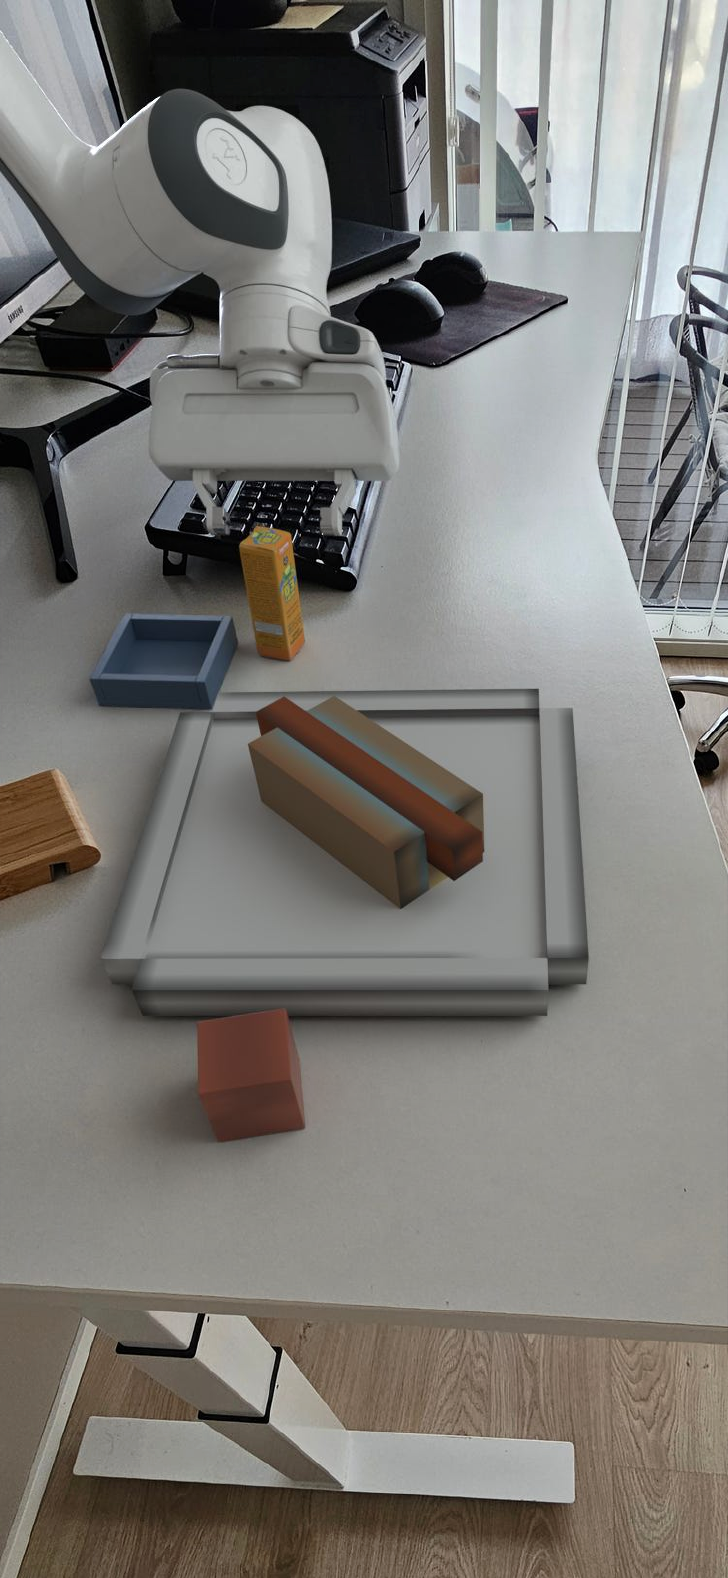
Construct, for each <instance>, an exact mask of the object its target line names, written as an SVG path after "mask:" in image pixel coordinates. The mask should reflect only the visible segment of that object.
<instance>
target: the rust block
mask: <svg viewBox="0 0 728 1578" xmlns="http://www.w3.org/2000/svg"><path fill="white" fill-rule="evenodd" d="M196 1027H197V1028H196V1029H197V1030H196V1031H197V1034H196V1036H197V1038H196V1039H197V1040H196V1041H197V1095H198V1098H199V1099H200V1102H201V1105H202V1107H203V1109H204V1112H205V1114H206V1117H207V1118H208V1121H209V1124H210V1126H211V1128H212V1130H213V1133H214V1135H215V1137H216V1140H217V1142H218V1143H222V1142H230V1141H236V1140H241V1139H248V1138H254V1137H260V1136H266V1135H271V1134H279V1133H286V1132H290V1131H297V1130H303V1129H306V1118H305V1117H306V1116H305V1107H304V1106H305V1105H304V1096H303V1094H304V1093H303V1083H302V1082H303V1081H302V1072H301V1070H302V1069H301V1060H300V1056H299V1052H298V1049H297V1048H298V1047H297V1045H296V1040H295V1037H294V1034H293V1030H292V1026H291V1023H290V1019H289V1016H288V1015H287V1011H286V1009H278V1010H272V1011H265V1012H258V1013H252V1014H245V1015H238V1016H224V1017H220V1018H213V1019H206V1020H200V1021H197V1023H196Z"/></svg>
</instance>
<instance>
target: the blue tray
mask: <svg viewBox="0 0 728 1578" xmlns="http://www.w3.org/2000/svg"><path fill="white" fill-rule="evenodd" d="M236 630H237V629H236V627H235V622H234V617H233V616H231V615H198V614H197V615H196V614H193V615H192V614H157V613H156V614H154V613H153V614H150V613H123V615H122V617H121V619H120V621H119V622H118V624H117V626H116V628H115V630H114V632H113V634H112V636H111V638H110V640H109V641H108V643H107V645H106V647H105V649H104V650H103V652H102V654H101V655H100V657H99V660H98V662H97V664H96V666H95V667H94V669H93V671H92V673H91V675H90V677H89V680H88V681H89V682H90V684H91V688H92V691H93V694H94V696H95V699H96V702H97V704H98V706H99V707H126V708H127V707H129V708H160V709H162V708H164V709H168V708H169V709H194V710H195V709H197V710H213V708H214V704H215V701H216V697H217V694H218V692H220V690H221V687H222V685H223V682H224V680H225V678H226V675H227V673H228V670H229V668H230V665H231V663H232V661H233V657H234V655H235V652H236V650H237V648H238V646H239V639H238V635H237V631H236Z"/></svg>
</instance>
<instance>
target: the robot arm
mask: <svg viewBox="0 0 728 1578" xmlns="http://www.w3.org/2000/svg"><path fill="white" fill-rule="evenodd" d="M0 173H1V174H2V176H3V177H4V179H5V180H6V181H7V183H8V184H9V185H10V187H12V188H13V190H14V191H15V193H16V194H17V196H18V197H19V198H20V199H21V201H22V203H23V204H24V205H25V206H26V208H27V209H28V211H29V213H30V214H31V215H32V217H33V218H34V220H35V222H36V223H37V225H38V226H39V228H40V230H41V231H42V234H43V235H44V237H45V239H46V240H47V242H48V244H49V246H50V248H51V249H52V251H53V253H54V255H55V256H56V258H57V259H58V261H59V263H60V264H61V266H62V267H63V269H64V270H65V272H66V273H67V275H68V276H69V278H70V279H71V280H72V281H73V283H74V284H75V285H76V286H77V287H78V289H80V290H81V291H82V292H83V293H84V294H85V295H86V296H88V297H89V298H90V299H91V300H93V301H94V302H95V303H97V304H98V305H100V306H102V307H103V308H105V309H107V310H110V311H111V312H114V313H116V314H120V315H125V316H140V315H143V314H144V315H145V314H147V313H148V312H151V311H152V310H153V309H155V308H156V307H157V306H158V305H159V304H160V303H162V302H163V301H164V300H165V299H166V298H167V297H169V296H170V295H171V294H172V293H174V291H176V290H177V289H178V287H180V286H182V285H183V284H184V283H187V282H188V281H190V280H191V279H193V278H195V277H197V276H198V275H200V274H202V273H203V275H206V276H207V277H209V278H210V279H213V280H214V281H215V282H216V284H217V285H218V287H219V293H220V294H219V353H205V354H195V355H183V354H171V355H168V356H166V359H165V360H164V361H161V362H159V363H158V364H157V365H156V366H155V367H154V368H153V369H152V370H151V372H150V375H149V399H150V403H151V413H150V419H149V431H148V455H149V458H150V460H151V462H152V463H153V465H154V466H155V467H156V469H157V470H159V472H160V473H161V474H162V475H163V476H164V477H166V478H167V479H168V480H169V481H172V482H173V481H174V482H179V481H180V482H186V481H187V482H192V486H193V488H194V489H195V490H194V491H196V493H197V495H198V497H199V499H200V501H201V502H202V504H203V507H204V508H205V512H206V515H205V516H206V517H205V518H206V519H205V520H206V522H205V523H206V525H205V526H206V530H207V532H208V533H209V534H210V535H211V536H230V535H231V528H230V524H231V513H229V512H228V511H227V509H226V508H225V507H224V506H217V504H216V503H215V501H214V499H213V496H212V495H211V494H217V493H218V482H334V485H335V487H336V489H337V490H338V491H337V493H336V495H335V496H334V498H333V500H332V502H331V504H330V506H327V507H326V506H324V507H323V506H322V507H320V508H319V509H320V513H319V516H320V518H321V520H320V522H319V527H320V532H321V534H322V535H323V536H325V537H327V536H328V537H329V536H330V537H341V536H342V535H343V516H344V515H345V513H346V512H347V510H348V508H349V507H350V505H351V503H352V501H353V500H354V498H355V496H356V495H357V482H388V481H391V480H392V479H393V478H394V477H395V475H396V474H397V472H399V471H398V470H399V469H400V443H399V442H400V441H399V430H398V424H397V423H398V422H397V418H396V412H395V409H394V405H393V401H392V397H391V394H390V391H389V388H388V386H387V371H386V363H385V359H384V354H383V352H382V349H381V346H380V345H379V343H378V340H377V338H376V337H375V335H374V333H373V332H372V331H370V329H367V328H365V327H363V326H360V325H357V324H354V323H351V322H347V321H345V320H342V319H338V318H336V317H334V316H332V314H331V307H330V303H329V300H328V295H327V288H328V287H327V285H328V279H329V276H330V273H331V270H332V264H333V263H332V261H333V220H332V204H331V202H332V201H331V192H330V184H329V177H328V173H327V168H326V164H325V160H324V157H323V154H322V149H321V148H320V145H319V143H318V140H317V139H316V137H315V136H314V134H313V133H312V132H311V130H310V129H309V128H308V127H307V126H306V125H305V124H304V123H303V122H301V121H300V120H299V119H298V118H296V117H295V116H294V115H292V114H290V113H288V112H286V111H284V110H282V109H280V108H276V107H274V106H268V105H253V106H249V107H247V108H244V109H243V110H241V111H232V110H227V109H226V108H224V107H222V106H221V105H220V104H219V103H218V102H217V101H214V100H213V99H212V98H209V97H208V96H205V95H204V94H203V93H200V92H198V91H195V90H192V89H187V88H174V89H171V90H168V91H165V92H164V93H163V94H161V95H160V96H158V97H157V98H155V99H154V100H153V101H151V102H149V103H148V104H147V105H146V106H145V107H143V108H142V109H140V110H139V111H138V112H137V113H136V114H134V115H133V116H132V117H131V118H129V120H127V121H126V122H124V123H123V124H122V126H121V127H120V129H118V130H117V131H115V133H113V134H112V135H110V136H109V138H107V139H105V141H103V142H102V143H101V144H100V145H99V146H94V145H91V144H88V143H86V142H84V141H82V139H80V138H79V137H77V136H76V134H74V133H73V131H72V130H71V129H70V127H69V126H68V125H67V123H66V122H65V120H64V119H63V118H62V116H61V115H60V113H59V112H58V110H57V109H56V107H55V105H53V103H52V102H51V99H49V97H48V96H47V95H46V93H45V92H44V91H43V89H42V88H41V86H40V84H39V83H38V82H37V80H36V79H35V78H34V76H33V75H32V73H31V72H30V70H29V69H28V68H27V66H26V64H25V63H24V62H23V61H22V59H21V58H20V57H19V55H18V53H17V52H16V51H15V49H14V47H13V46H12V45H11V44H10V42H9V41H8V39H7V37H5V35H4V33H3V32H2V31H1V30H0Z"/></svg>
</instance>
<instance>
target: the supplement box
mask: <svg viewBox="0 0 728 1578" xmlns="http://www.w3.org/2000/svg"><path fill="white" fill-rule="evenodd" d="M292 539H293V538H292V534H291V533H290V532H289V531H285V530H282V529H277V528H271V527H267V526H261V525H260V526H259V525H255V527H254V529H253V531H252V532H251V533H250V534H249V535H248V536H247V537H246V538H244V539H243V540H242V541H241V542H240V543H239V545H238V548H239V555H240V560H241V561H240V562H241V566H242V572H243V579H244V583H245V589H246V595H247V596H246V597H247V601H248V606H249V612H250V619H251V623H252V629H253V635H254V640H255V645H256V650H257V654H258V655H259V656H260V657H264V658H269V659H274V660H279V661H280V660H281V661H286V662H287V661H288V662H292V661H293V659H294V657H295V656H296V655H297V653H298V652H299V651H300V649H302V647H303V646H304V644H305V643H306V640H305V638H306V637H305V632H304V631H305V630H304V623H303V616H302V608H301V607H302V606H301V601H300V594H299V585H298V578H297V571H296V570H297V569H296V562H295V555H294V547H293V546H294V545H293V540H292Z"/></svg>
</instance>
